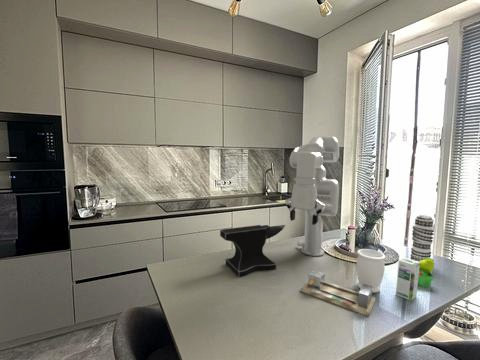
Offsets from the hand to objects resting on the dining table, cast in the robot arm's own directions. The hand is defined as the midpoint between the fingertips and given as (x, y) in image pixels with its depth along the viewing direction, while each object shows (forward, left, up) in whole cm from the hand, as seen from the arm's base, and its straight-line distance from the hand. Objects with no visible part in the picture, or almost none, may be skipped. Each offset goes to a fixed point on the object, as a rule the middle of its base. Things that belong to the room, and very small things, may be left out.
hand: (303, 222), depth 106 cm
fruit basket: (+41, +35, -27) cm, 61 cm away
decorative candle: (+40, +59, -27) cm, 77 cm away
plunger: (+7, -2, -25) cm, 26 cm away
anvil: (-24, 0, -27) cm, 36 cm away
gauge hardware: (+16, -1, -25) cm, 30 cm away
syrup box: (+37, +17, -27) cm, 49 cm away
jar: (+24, +14, -27) cm, 39 cm away
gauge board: (+16, -1, -27) cm, 31 cm away
